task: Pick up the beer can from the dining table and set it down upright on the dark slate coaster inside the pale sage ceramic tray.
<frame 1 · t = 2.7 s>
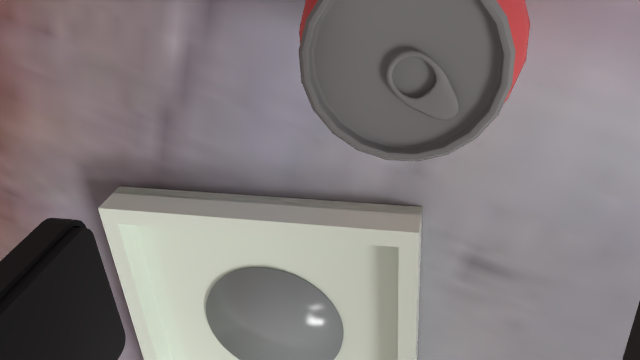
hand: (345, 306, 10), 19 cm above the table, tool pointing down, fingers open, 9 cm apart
coaster tray: (277, 314, 38), on the table
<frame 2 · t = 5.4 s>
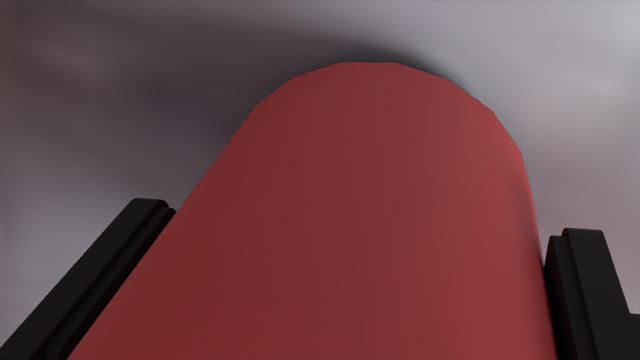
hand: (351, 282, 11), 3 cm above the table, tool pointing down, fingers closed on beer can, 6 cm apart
beer can: (376, 185, 13), on the table, touching gripper
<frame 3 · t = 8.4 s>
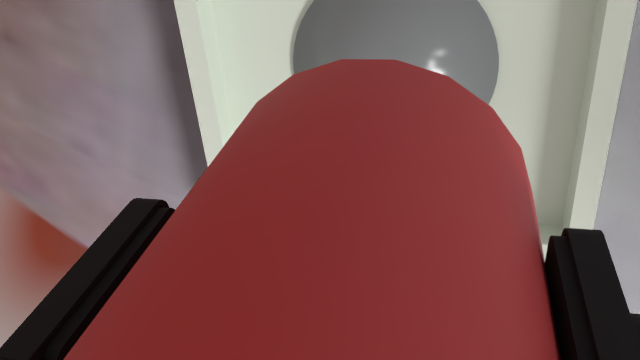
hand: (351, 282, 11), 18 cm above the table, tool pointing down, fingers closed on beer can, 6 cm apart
beer can: (377, 183, 13), point 14 cm above the table, touching gripper
coaster tray: (394, 61, 26), on the table
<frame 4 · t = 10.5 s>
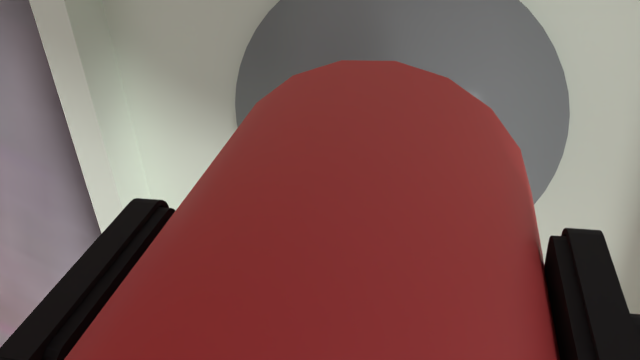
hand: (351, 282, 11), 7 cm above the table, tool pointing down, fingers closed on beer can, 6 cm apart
beer can: (376, 184, 13), point 4 cm above the table, touching gripper
coaster tray: (395, 113, 17), on the table
when the fingers open (6 cm above the table, at t = 11.8 s): beer can drops 1 cm, resting on coaster tray.
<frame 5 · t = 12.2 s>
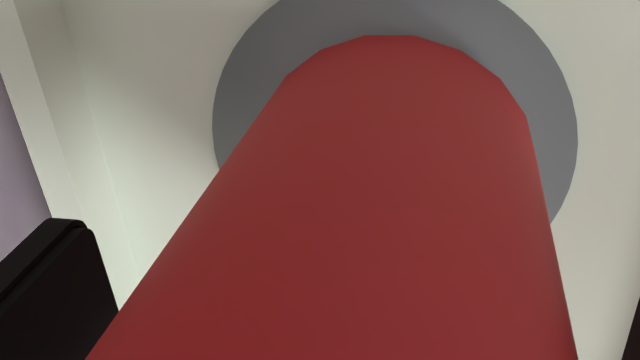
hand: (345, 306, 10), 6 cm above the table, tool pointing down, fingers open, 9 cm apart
beer can: (393, 152, 15), point 1 cm above the table, touching coaster tray
coaster tray: (387, 138, 15), on the table
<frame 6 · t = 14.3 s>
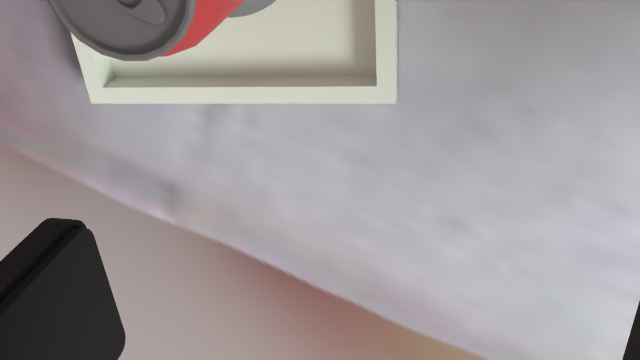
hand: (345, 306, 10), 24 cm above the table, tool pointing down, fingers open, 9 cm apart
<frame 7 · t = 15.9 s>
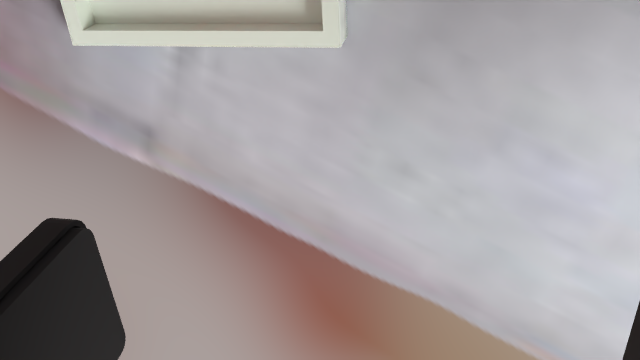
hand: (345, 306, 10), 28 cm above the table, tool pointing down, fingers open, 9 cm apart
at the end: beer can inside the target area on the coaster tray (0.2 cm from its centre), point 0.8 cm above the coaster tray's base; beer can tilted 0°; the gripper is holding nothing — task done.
